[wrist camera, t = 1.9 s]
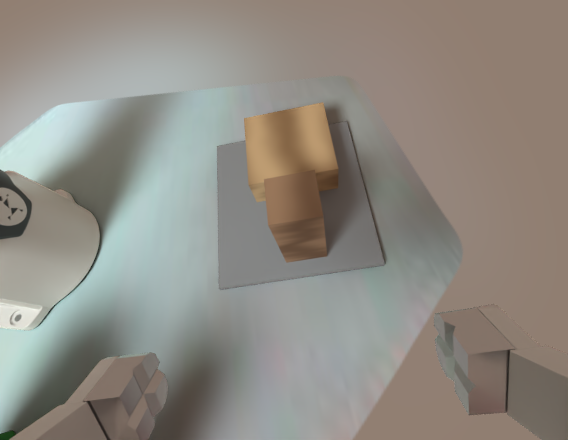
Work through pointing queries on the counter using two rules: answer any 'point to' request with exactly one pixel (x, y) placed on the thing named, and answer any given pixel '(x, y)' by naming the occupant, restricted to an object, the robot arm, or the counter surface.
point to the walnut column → (296, 215)
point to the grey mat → (259, 239)
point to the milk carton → (7, 435)
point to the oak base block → (290, 147)
